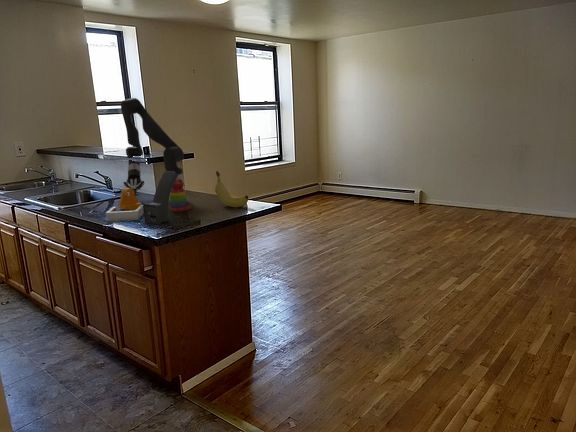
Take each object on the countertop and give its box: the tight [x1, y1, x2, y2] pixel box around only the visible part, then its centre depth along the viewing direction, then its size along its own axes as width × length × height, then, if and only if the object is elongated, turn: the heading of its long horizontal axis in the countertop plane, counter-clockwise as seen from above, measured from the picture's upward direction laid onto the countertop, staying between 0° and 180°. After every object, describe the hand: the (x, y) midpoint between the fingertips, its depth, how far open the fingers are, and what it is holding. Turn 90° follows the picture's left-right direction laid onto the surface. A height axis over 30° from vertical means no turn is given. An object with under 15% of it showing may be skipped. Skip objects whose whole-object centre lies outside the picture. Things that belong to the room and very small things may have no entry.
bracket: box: [105, 204, 144, 222], centre depth 235 cm, size 16×14×4 cm
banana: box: [214, 171, 249, 208], centre depth 250 cm, size 23×6×20 cm, turn 58°
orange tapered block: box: [118, 187, 143, 211], centre depth 254 cm, size 11×7×12 cm, turn 134°
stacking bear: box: [169, 179, 192, 213], centre depth 246 cm, size 11×10×18 cm
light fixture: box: [142, 170, 178, 226], centre depth 224 cm, size 11×17×24 cm, turn 147°
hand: (133, 194), depth 272 cm, fingers closed
